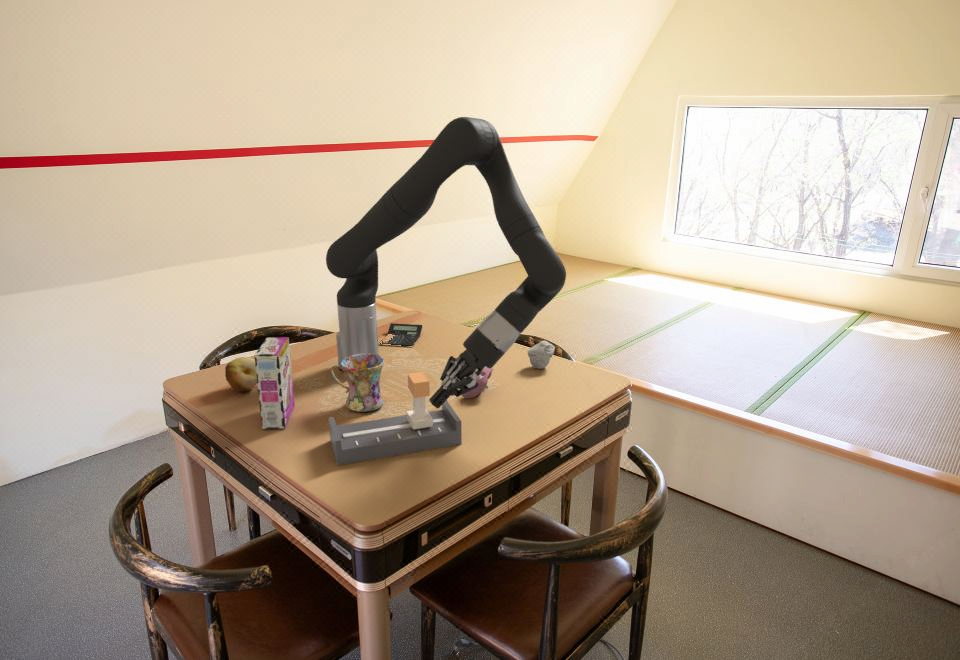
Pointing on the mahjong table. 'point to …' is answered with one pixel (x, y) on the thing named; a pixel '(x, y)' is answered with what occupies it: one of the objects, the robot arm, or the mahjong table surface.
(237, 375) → the fruit
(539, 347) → the grey lumpy stone
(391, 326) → the calculator
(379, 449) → the fader console
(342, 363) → the mug
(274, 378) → the candy bar box
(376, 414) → the mahjong table surface
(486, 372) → the pink toy animal figure
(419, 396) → the fader knob
